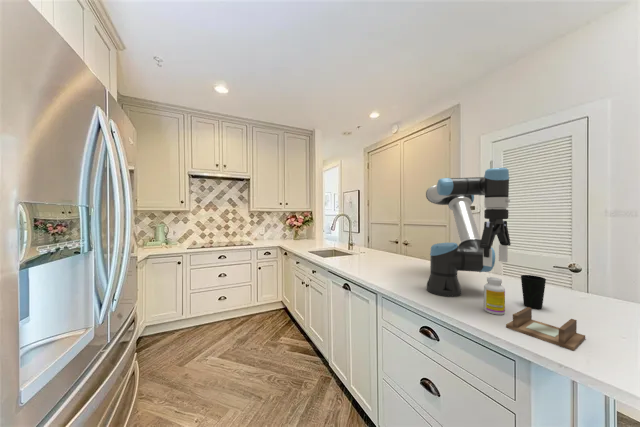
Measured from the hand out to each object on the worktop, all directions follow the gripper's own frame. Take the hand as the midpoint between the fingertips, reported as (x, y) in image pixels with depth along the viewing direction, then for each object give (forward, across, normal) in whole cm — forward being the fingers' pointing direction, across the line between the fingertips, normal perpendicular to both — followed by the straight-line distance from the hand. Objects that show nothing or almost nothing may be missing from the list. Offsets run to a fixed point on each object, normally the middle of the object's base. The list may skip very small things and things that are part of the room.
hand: (495, 263), depth 94 cm
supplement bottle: (+19, 0, 0) cm, 19 cm away
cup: (+19, +18, -6) cm, 27 cm away
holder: (+18, -6, -16) cm, 25 cm away
